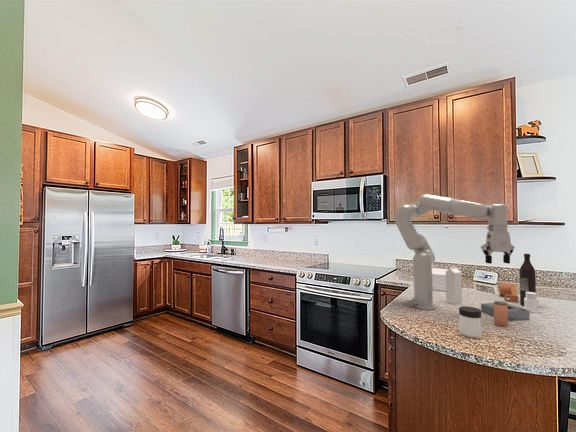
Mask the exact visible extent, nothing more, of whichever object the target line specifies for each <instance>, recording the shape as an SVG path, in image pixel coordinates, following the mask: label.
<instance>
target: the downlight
mask: <svg viewBox="0 0 576 432" xmlns="http://www.w3.org/2000/svg"><path fill="white" fill-rule="evenodd" d="M537 295H538V294H537V292H536V293H534V292H526V298H524V305H523V306H524V308H523V309H526V310H529V311H530V313H532V314H534V313H535V314H538V313H539V314H540V313H541V311H540V310H539V299H537Z"/></svg>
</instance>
